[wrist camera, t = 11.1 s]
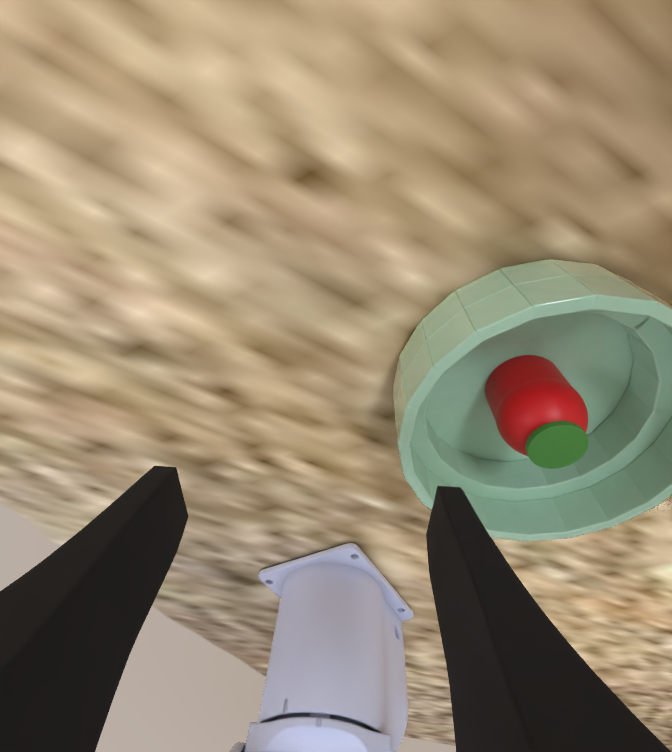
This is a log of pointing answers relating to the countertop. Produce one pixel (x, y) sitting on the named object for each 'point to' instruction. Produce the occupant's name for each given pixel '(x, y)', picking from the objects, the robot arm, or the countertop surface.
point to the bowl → (580, 368)
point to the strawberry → (538, 411)
